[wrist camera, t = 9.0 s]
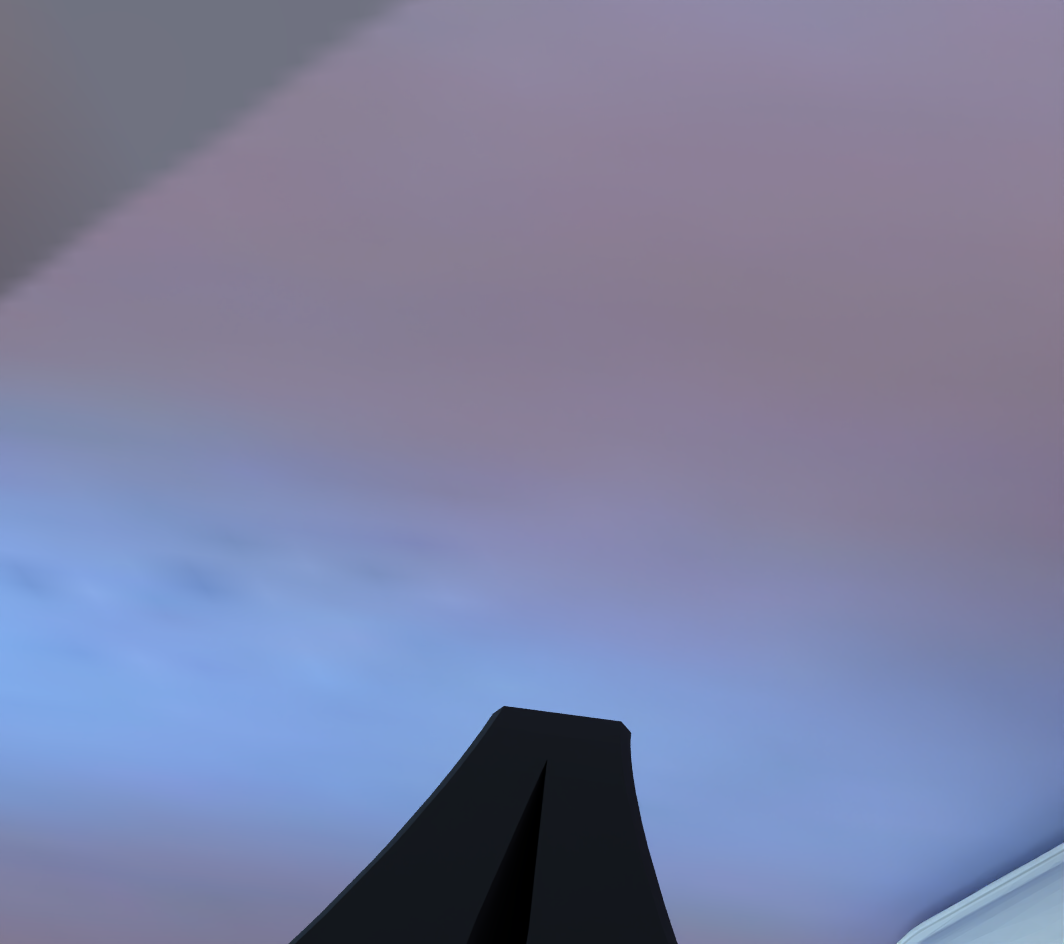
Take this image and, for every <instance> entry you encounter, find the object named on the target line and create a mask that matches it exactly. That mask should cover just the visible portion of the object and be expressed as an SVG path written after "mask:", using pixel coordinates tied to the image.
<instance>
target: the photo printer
mask: <svg viewBox="0 0 1064 944" xmlns="http://www.w3.org/2000/svg"><path fill="white" fill-rule="evenodd" d="M897 944H1064V843H1062V844H1060V845H1058V846H1056V847H1055V848H1053V849H1052V850H1050V851H1048V852H1046V853H1044V854H1042V855H1041V856H1039V857H1038V858H1036V859H1034V860H1032V861H1030V862H1028V863H1027V864H1025V865H1023V866H1021V867H1019V868H1017V869H1016V870H1014V871H1012V872H1010V873H1008V874H1006V875H1005V876H1003V877H1001V878H999V879H998V880H996V881H994V882H992V883H991V884H989V885H987V886H985V887H984V888H982V889H980V890H979V891H977V892H975V893H973V894H972V895H970V896H968V897H967V898H965V899H963V900H962V901H960V902H958V903H956V904H954V905H953V906H951V907H949V908H947V909H946V910H944V911H942V912H940V913H938V914H936V915H935V916H933V917H931V918H929V919H927V920H926V921H924V922H922V923H921V924H919V925H918V926H916V927H915V928H913V929H912V930H910V931H909V932H908V933H907V934H906V935H905V936H904V937H903V938H902V939H901V940H900V941H899V942H898V943H897Z"/></svg>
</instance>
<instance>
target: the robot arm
mask: <svg viewBox="0 0 1064 944" xmlns="http://www.w3.org/2000/svg"><path fill="white" fill-rule="evenodd" d="M630 739H631V732H630V731H629V730H628V729H627V728H626V726H625V725H624V724H623V723H622V722H621V721H613V720H606V719H598V718H591V717H583V716H576V715H568V714H560V713H553V712H545V711H538V710H530V709H523V708H515V707H508V706H503V707H502V708H500V709H499V710H498V711H496V712H495V713H493V714H492V716H491V717H490V719H489V720H488V722H487V723H486V725H485V726H484V728H483V729H482V730H481V732H480V733H479V735H478V736H477V737H476V739H475V740H474V741H473V743H472V744H471V745H470V747H469V748H468V749H467V751H466V752H465V753H464V755H463V756H462V757H461V759H460V760H459V761H458V762H457V764H456V765H455V766H454V767H453V769H452V770H451V771H450V772H449V774H448V775H447V776H446V777H445V779H444V780H443V781H442V782H441V783H440V785H439V786H438V787H437V788H436V790H435V791H434V792H433V793H432V794H431V796H430V797H429V798H428V799H427V800H426V801H425V802H424V804H423V805H422V806H421V807H420V808H419V809H418V810H417V812H416V813H415V814H414V815H413V816H412V817H411V818H410V820H409V821H408V822H407V823H406V824H405V825H404V826H403V828H402V829H401V830H400V831H399V832H398V833H397V834H396V836H395V837H394V838H393V839H392V840H391V841H390V842H389V844H388V845H387V846H386V847H385V848H384V849H383V850H382V851H381V852H380V853H379V854H378V855H377V856H376V858H375V859H374V860H373V861H372V862H371V863H370V864H369V865H368V866H367V867H366V868H365V869H364V870H363V871H362V872H361V873H360V874H359V875H358V876H357V877H356V878H355V879H354V880H353V881H352V882H351V883H350V884H349V885H348V886H347V887H346V888H345V889H344V890H343V891H342V892H341V893H340V894H339V895H338V896H337V897H336V898H335V899H334V900H333V901H332V902H331V903H330V904H329V905H328V906H327V907H326V908H325V909H324V911H323V912H322V913H321V914H320V915H319V916H317V917H316V918H315V919H314V920H313V921H312V922H311V923H310V924H309V925H308V926H307V927H306V928H305V929H304V930H303V931H302V932H301V933H300V934H299V935H297V936H296V937H295V938H294V939H293V940H292V941H291V942H290V943H289V944H678V943H677V941H676V938H675V935H674V932H673V929H672V926H671V923H670V920H669V917H668V913H667V910H666V907H665V904H664V901H663V897H662V894H661V891H660V887H659V884H658V880H657V877H656V873H655V870H654V866H653V863H652V859H651V856H650V853H649V849H648V845H647V841H646V837H645V833H644V829H643V825H642V821H641V816H640V811H639V806H638V801H637V796H636V791H635V785H634V779H633V771H632V763H631V748H630Z"/></svg>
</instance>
